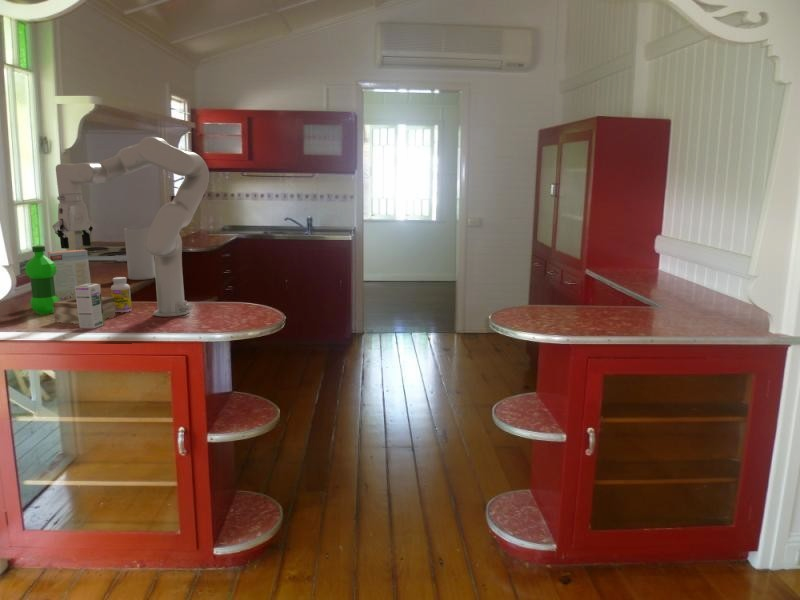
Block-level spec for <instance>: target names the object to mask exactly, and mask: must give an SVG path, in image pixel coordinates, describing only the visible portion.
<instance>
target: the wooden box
mask: <svg viewBox="0 0 800 600" xmlns="http://www.w3.org/2000/svg"><path fill="white" fill-rule="evenodd" d="M101 298H102V307H103V316H104V319H105V320H108V319H112V318H114V317H113V316H115V317H116V313H115V306H114V298H113V297H111V296H109V297H108V296H101ZM53 310H54V311H53V317H54V323H59V322H61V324H72V323H73V324H74V325H79V318H78V310H77V301H76V298H71V299H67V300H62V301H58V302H53ZM111 317H112V318H111ZM107 318H108V319H107ZM73 324H72V325H73Z"/></svg>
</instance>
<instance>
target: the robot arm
mask: <svg viewBox="0 0 800 600" xmlns="http://www.w3.org/2000/svg"><path fill="white" fill-rule="evenodd" d="M151 166H156V167H159V168H160V169H163V170H166V171H168V172H170V173H172V174H174V175H177V176H180V177H184V179H183V181H182V182H181V184H180V186H179V187H178V190H177V191H176V194H175V195H174V197H173V199H172V201H170V202H167V203H164V205H162V206H161V207H160V209H159V210H158V211H157V213H156V215H155V217H154V219H153V221H152V223H151V225H150V226H149V227H150V229H149V231H148V233H147V235H146V237H145V242H144V244H145V248H146V250H147V252H148V253H149V254H151V255H153V256H154V266H155V278H154V279H155V290H156V303H157V309H156V310H154V311H153V315H154V316H155V317H165V318H166V317H170V318H171V317H179V316H183V315H187V314H189V313H190V312H191V311H192V310H193V308H194V305H193V304H188V301H187V300H185V289H184V275H183V255H182V253H183V240H182V237H181V235H180V232H181V231H182V229H183V228H185V227H188V225H190V223H191V222H192V220H193V217H194V215H195V213H196V211H197V210H198V207H199V205H200V203H201V201H202V199H203V196H204V195H205V192H206V190H208V189H207V188H208V186H209V181H210V171H209V167H208V165H207V163H206V161H205V160H204V159H203V157H201V156H200V155H199V154H197V153H196V152H194V151H189V150H187V151H186V150H182V149H180V148H178V147H175V146H172V145H170V144H169V142H167V141H166V140H165V139H164V138H161V137H157V136H146V137H144V138H142V139H141V140H140V141H139V142H138V143H136V144H132V145H129V146H126V147H123V148H121V149H120V150H118V152H117V154H116V155H115V154H114V155H113V156H112V157H108V158H106V159H103V160H100V161H97V162H79V163H58V164H57V165H55V175H56V182H57V183H56V185H57V193H58V196H57V201H59V203H58V206H57V222H55V223H54V224H52V229H53V231H54V233H55V234H56V235H57V237H58V238H59V241H60V248H61V249H63V250H64V249H66V250H68V249H70V242H69V238H68V237H67V235H69V232H79V231H80V232H81V233H82V234H81V240H82V245H83V246H85V247H86V246H88V247H89V246H91V235H92V231H93V229H94V228H93V227H94V224H95V222H94V221H93V220H91V219H90V218H89V213H88V208H87V206H86V203H85V202H84V200H83V194H82V191H83V190H82V185H96V184H97V185H99V184H102V183H103V184H104V183H107V182H110V181H113V180H115V179H118V178H121V177H123V176H126V175H128V174H131V173H133V172H134V173H135V172H137V171H139V170H141V169H145V168H147V167H151Z"/></svg>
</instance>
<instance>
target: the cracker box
mask: <svg viewBox="0 0 800 600" xmlns="http://www.w3.org/2000/svg"><path fill="white" fill-rule="evenodd" d="M88 253H89V252H88V249H87V250H86V249H72V250H71V249H70V250H59V251H49V252H47V258H49V259H50V260H51V261H53V262H54V263H55V265H56V274H55V275H54V276H53V277H54V286H55V295H56V297H57V298H58V300H59V301H62V300H67V299H71V298H76V293H75V287H76V286H80V285H84V284H91V283H92V282H91V273H90V265H89V262H90V261H89V256H88Z"/></svg>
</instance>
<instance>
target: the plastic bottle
mask: <svg viewBox="0 0 800 600" xmlns="http://www.w3.org/2000/svg"><path fill="white" fill-rule="evenodd" d="M31 248H32V249H31V251H32V253H34V256H33V257H32V258H31V259H30V260H28V262H27V263H26V264H25V267H24V269H25V274H26V276H27V277H28V278H29V280H30V288H31V289H30V290H31V295H32V297H31V298H30V301H29V303H30V307H31V308H32V310H33V311H34V312H35V313H37V315H49V313H50V314H54V310H53V302H58V301H59V300H58V298H57V297H56V295H55V286H54V277H53V276H54V275H55V274H56V265H55V263H54V262H53V261H51V260H50V259H49V258H48V256H46V255H45V252H46V246H45V245H35V246H32V247H31Z"/></svg>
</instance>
